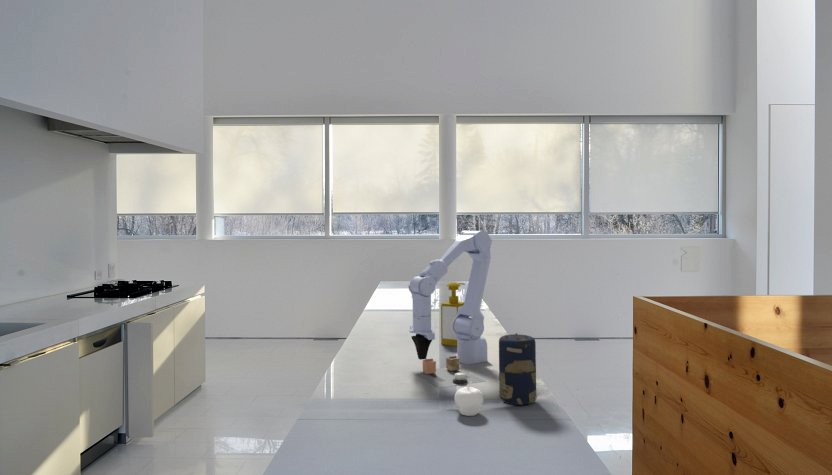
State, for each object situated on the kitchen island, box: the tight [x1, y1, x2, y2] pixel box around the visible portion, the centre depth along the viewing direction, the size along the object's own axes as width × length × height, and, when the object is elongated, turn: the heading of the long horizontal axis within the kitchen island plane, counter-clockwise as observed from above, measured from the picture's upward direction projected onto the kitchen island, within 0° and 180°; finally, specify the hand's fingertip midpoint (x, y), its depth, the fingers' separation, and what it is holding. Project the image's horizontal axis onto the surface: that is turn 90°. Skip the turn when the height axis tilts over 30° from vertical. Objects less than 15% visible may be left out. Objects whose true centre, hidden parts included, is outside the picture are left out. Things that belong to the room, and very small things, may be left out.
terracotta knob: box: [422, 358, 437, 374], centre depth 178 cm, size 3×3×4 cm
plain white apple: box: [454, 382, 484, 417], centre depth 145 cm, size 7×7×8 cm
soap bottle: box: [440, 281, 466, 347], centre depth 228 cm, size 7×13×24 cm, turn 148°
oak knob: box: [445, 355, 460, 371], centre depth 182 cm, size 3×3×4 cm
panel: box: [412, 367, 486, 389], centre depth 175 cm, size 15×19×2 cm
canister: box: [498, 332, 537, 405], centre depth 154 cm, size 10×10×18 cm
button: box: [455, 373, 465, 380], centre depth 169 cm, size 3×3×1 cm
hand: (422, 358), depth 183 cm, fingers closed
